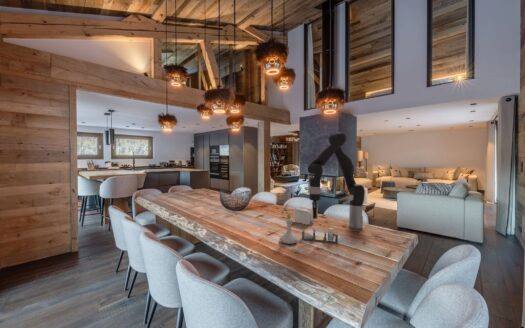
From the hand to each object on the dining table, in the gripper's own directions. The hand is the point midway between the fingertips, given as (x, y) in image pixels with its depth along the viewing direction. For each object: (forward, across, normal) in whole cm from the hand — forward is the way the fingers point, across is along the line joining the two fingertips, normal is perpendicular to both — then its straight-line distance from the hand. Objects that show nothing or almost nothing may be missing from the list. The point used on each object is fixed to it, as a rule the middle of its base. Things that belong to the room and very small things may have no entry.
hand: (315, 217), depth 159 cm
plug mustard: (+1, 0, 0) cm, 1 cm away
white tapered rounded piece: (+12, -21, +16) cm, 29 cm away
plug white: (+11, -11, -10) cm, 19 cm away
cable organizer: (+12, +25, +9) cm, 29 cm away
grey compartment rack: (+12, -11, -3) cm, 17 cm away
